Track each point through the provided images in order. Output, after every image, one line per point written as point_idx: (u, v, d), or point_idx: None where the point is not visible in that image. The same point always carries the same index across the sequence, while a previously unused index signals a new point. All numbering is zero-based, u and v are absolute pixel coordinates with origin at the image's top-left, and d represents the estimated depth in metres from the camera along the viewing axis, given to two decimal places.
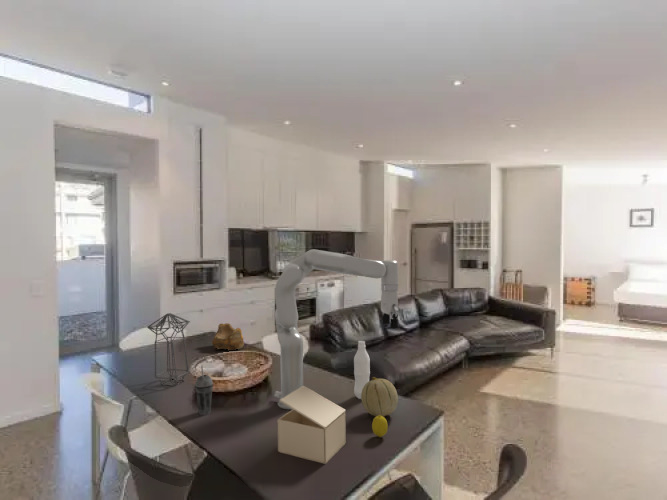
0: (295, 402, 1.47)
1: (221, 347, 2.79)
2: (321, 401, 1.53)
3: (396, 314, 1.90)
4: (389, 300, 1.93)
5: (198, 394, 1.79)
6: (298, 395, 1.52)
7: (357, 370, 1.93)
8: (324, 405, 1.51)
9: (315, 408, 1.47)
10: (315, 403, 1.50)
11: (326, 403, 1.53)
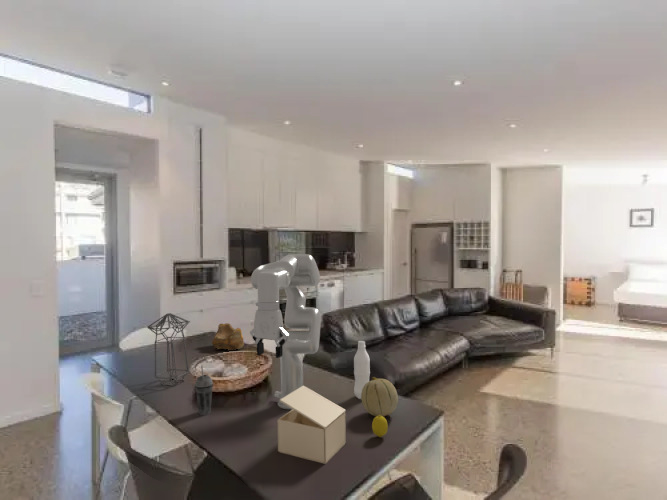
0: (295, 402, 1.47)
1: (221, 347, 2.79)
2: (321, 401, 1.53)
3: (286, 340, 1.53)
4: (276, 322, 1.53)
5: (198, 394, 1.79)
6: (298, 395, 1.52)
7: (357, 370, 1.93)
8: (324, 405, 1.51)
9: (315, 408, 1.47)
10: (315, 403, 1.50)
11: (326, 403, 1.53)
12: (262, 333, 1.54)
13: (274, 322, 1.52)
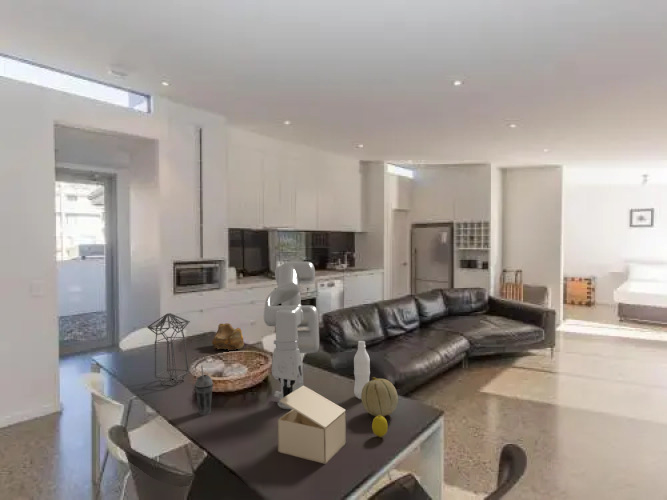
0: (295, 402, 1.47)
1: (221, 347, 2.79)
2: (321, 401, 1.53)
3: None
4: (295, 362, 1.49)
5: (198, 394, 1.79)
6: (298, 395, 1.52)
7: (357, 370, 1.93)
8: (324, 405, 1.51)
9: (315, 408, 1.47)
10: (315, 403, 1.50)
11: (326, 403, 1.53)
12: (280, 373, 1.51)
13: (293, 362, 1.49)
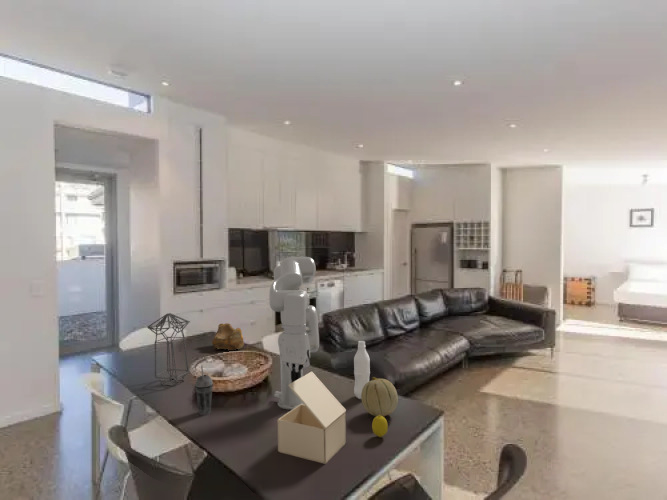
0: (302, 391, 1.46)
1: (221, 347, 2.79)
2: (325, 394, 1.52)
3: (304, 366, 1.50)
4: (304, 346, 1.48)
5: (198, 394, 1.79)
6: (306, 383, 1.51)
7: (357, 370, 1.93)
8: (327, 401, 1.50)
9: (319, 403, 1.47)
10: (320, 396, 1.50)
11: (330, 398, 1.52)
12: (288, 357, 1.50)
13: (301, 346, 1.48)
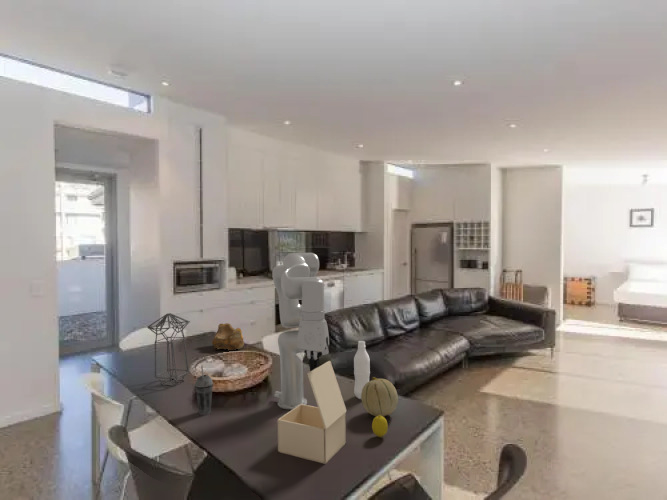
0: (317, 383, 1.43)
1: (221, 347, 2.79)
2: (334, 390, 1.50)
3: (323, 354, 1.47)
4: (323, 332, 1.44)
5: (198, 394, 1.79)
6: (322, 374, 1.47)
7: (357, 370, 1.93)
8: (334, 398, 1.49)
9: (328, 399, 1.45)
10: (330, 391, 1.48)
11: (337, 395, 1.50)
12: (307, 344, 1.46)
13: (320, 333, 1.44)
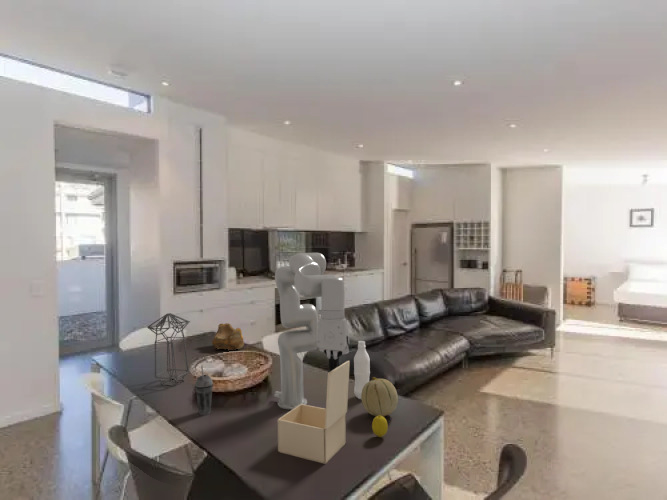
0: (333, 384, 1.41)
1: (221, 347, 2.79)
2: (344, 391, 1.49)
3: None
4: (343, 331, 1.41)
5: (198, 394, 1.79)
6: (339, 374, 1.45)
7: (357, 370, 1.93)
8: (341, 398, 1.47)
9: (336, 400, 1.44)
10: (340, 392, 1.46)
11: (344, 396, 1.49)
12: (327, 344, 1.43)
13: (341, 332, 1.41)
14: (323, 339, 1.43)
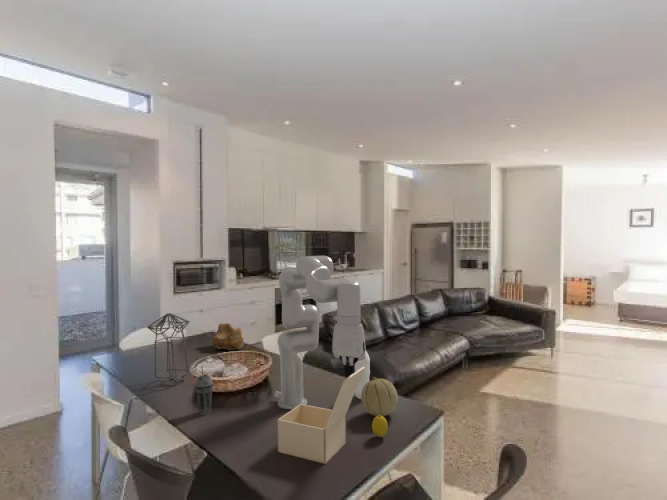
0: (345, 389, 1.39)
1: (221, 347, 2.79)
2: (351, 394, 1.47)
3: None
4: (360, 337, 1.38)
5: (198, 394, 1.79)
6: (353, 380, 1.42)
7: (357, 370, 1.93)
8: (347, 401, 1.47)
9: (342, 403, 1.43)
10: (348, 396, 1.45)
11: (349, 399, 1.48)
12: (343, 350, 1.40)
13: (357, 338, 1.38)
14: (339, 345, 1.41)
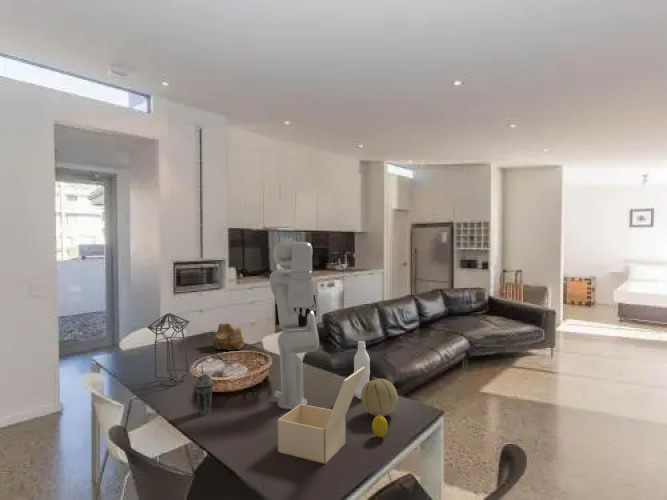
0: (345, 389, 1.39)
1: (221, 347, 2.79)
2: (351, 394, 1.47)
3: (311, 311, 1.60)
4: (310, 290, 1.57)
5: (198, 394, 1.79)
6: (353, 380, 1.42)
7: (357, 370, 1.93)
8: (347, 401, 1.47)
9: (342, 403, 1.43)
10: (348, 396, 1.45)
11: (349, 399, 1.48)
12: (296, 302, 1.59)
13: (308, 291, 1.57)
14: (293, 298, 1.60)
